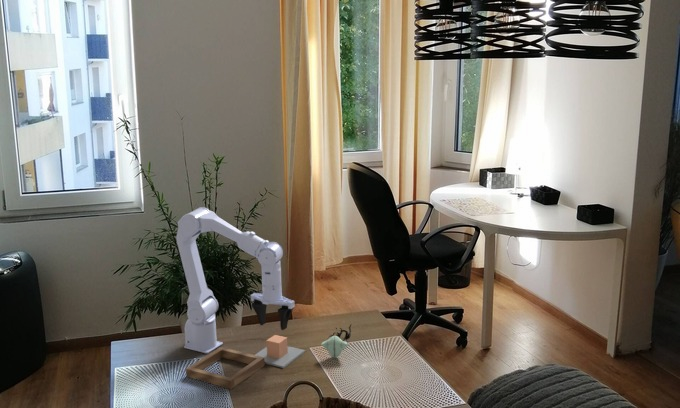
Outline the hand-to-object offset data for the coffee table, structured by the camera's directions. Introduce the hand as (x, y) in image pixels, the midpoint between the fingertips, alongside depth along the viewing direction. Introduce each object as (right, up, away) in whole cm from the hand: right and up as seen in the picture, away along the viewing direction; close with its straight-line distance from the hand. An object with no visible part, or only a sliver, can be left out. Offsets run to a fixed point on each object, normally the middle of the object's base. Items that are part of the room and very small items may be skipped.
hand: (273, 326), depth 205 cm
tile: (+1, -9, +1) cm, 9 cm away
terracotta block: (+1, -9, +1) cm, 9 cm away
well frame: (-13, -12, -7) cm, 19 cm away
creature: (+20, -7, +11) cm, 24 cm away
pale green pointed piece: (+19, -9, 0) cm, 21 cm away
